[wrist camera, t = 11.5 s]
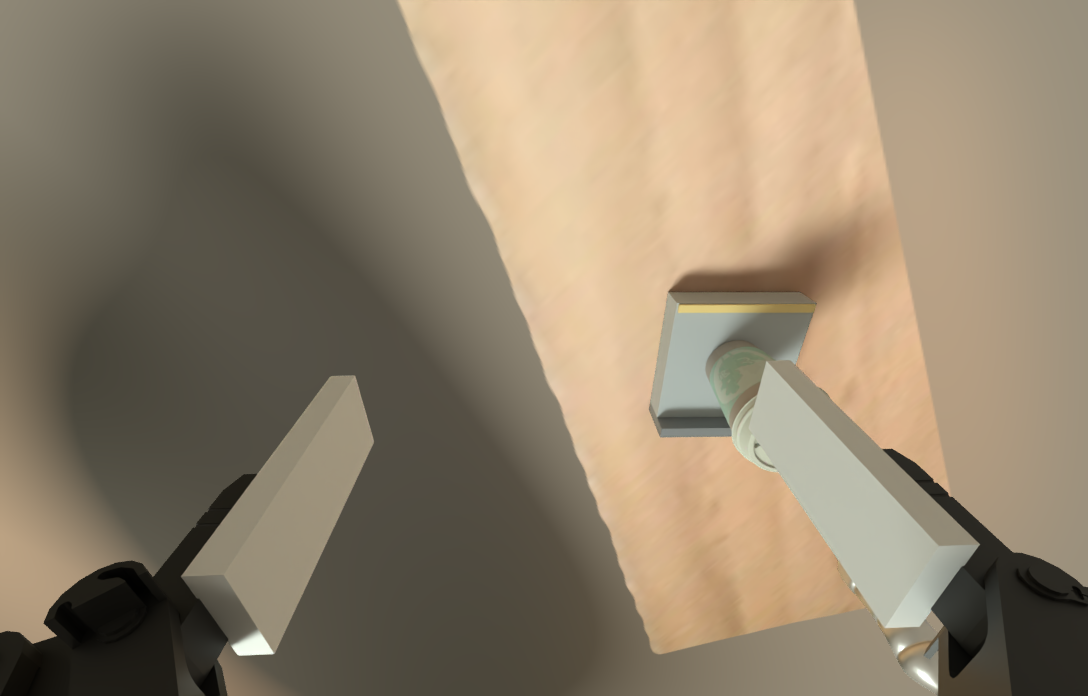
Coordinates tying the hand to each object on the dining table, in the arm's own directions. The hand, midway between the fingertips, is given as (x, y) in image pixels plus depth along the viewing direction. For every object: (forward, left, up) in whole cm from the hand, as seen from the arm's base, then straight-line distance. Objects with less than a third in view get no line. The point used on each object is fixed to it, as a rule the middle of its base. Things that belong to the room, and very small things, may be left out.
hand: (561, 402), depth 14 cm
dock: (+15, +20, -30) cm, 39 cm away
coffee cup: (+15, +20, -27) cm, 37 cm away
